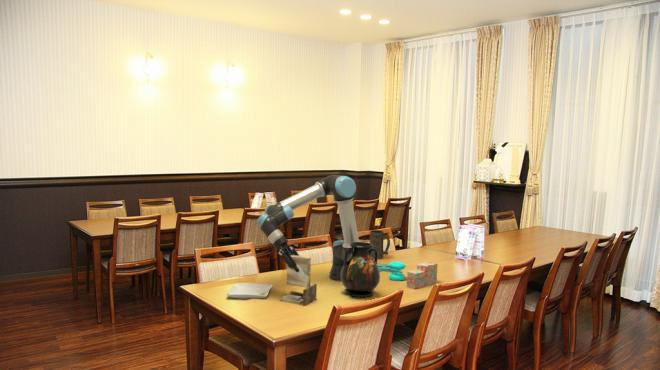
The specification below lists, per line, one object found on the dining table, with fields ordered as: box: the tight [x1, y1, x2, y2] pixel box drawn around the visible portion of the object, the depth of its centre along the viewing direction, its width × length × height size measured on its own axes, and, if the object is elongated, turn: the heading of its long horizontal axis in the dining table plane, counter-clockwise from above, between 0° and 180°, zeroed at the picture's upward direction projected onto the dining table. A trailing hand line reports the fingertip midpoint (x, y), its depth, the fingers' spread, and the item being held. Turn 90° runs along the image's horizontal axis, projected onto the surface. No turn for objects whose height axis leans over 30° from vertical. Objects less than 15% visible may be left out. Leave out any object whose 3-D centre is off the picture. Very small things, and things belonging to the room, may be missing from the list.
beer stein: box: [369, 229, 391, 260], centre depth 358 cm, size 15×11×20 cm
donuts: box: [388, 261, 406, 282], centre depth 303 cm, size 10×10×10 cm
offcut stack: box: [282, 293, 303, 306], centre depth 251 cm, size 4×10×3 cm, turn 64°
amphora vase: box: [340, 241, 381, 299], centre depth 269 cm, size 22×22×28 cm
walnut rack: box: [279, 283, 318, 307], centre depth 254 cm, size 12×15×9 cm
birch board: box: [286, 255, 312, 289], centre depth 255 cm, size 4×12×15 cm, turn 64°
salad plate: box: [226, 282, 274, 300], centre depth 264 cm, size 21×21×3 cm
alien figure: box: [377, 263, 403, 274], centre depth 324 cm, size 20×2×20 cm
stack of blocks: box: [406, 261, 438, 290], centre depth 292 cm, size 21×6×12 cm, turn 133°
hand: (305, 275), depth 253 cm, fingers closed on birch board, 3 cm apart
